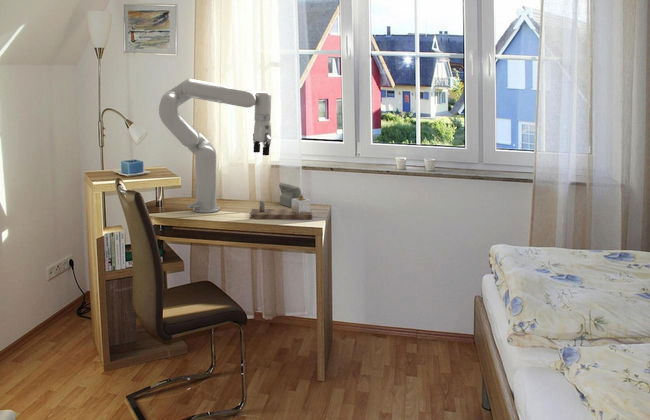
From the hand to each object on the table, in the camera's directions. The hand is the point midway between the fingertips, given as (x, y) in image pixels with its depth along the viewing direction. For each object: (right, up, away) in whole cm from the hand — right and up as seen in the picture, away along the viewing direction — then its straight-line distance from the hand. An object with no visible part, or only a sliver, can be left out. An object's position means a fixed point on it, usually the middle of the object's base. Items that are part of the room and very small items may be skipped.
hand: (261, 153), depth 357 cm
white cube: (+19, -28, -8) cm, 35 cm away
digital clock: (+14, -25, +17) cm, 33 cm away
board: (+10, -30, -8) cm, 32 cm away
